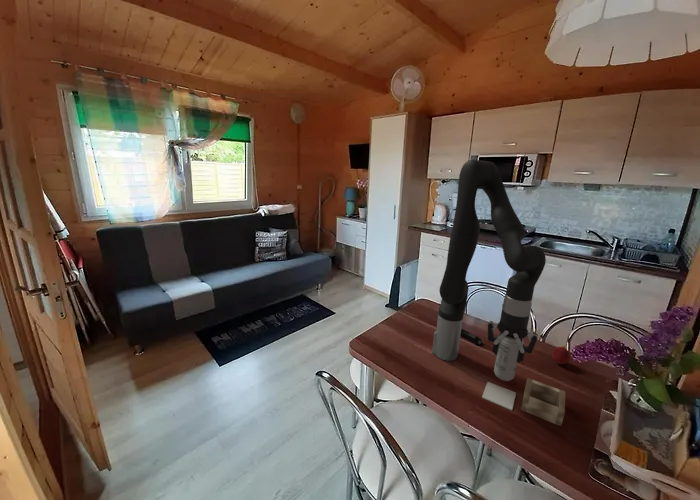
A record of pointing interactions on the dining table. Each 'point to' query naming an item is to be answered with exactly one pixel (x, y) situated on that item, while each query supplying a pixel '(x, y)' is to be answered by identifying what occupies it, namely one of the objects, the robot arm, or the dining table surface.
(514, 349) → the energy drink can
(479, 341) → the electric trimmer
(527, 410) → the pocket holder
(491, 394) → the grey pad
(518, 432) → the dining table surface
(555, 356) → the onion
